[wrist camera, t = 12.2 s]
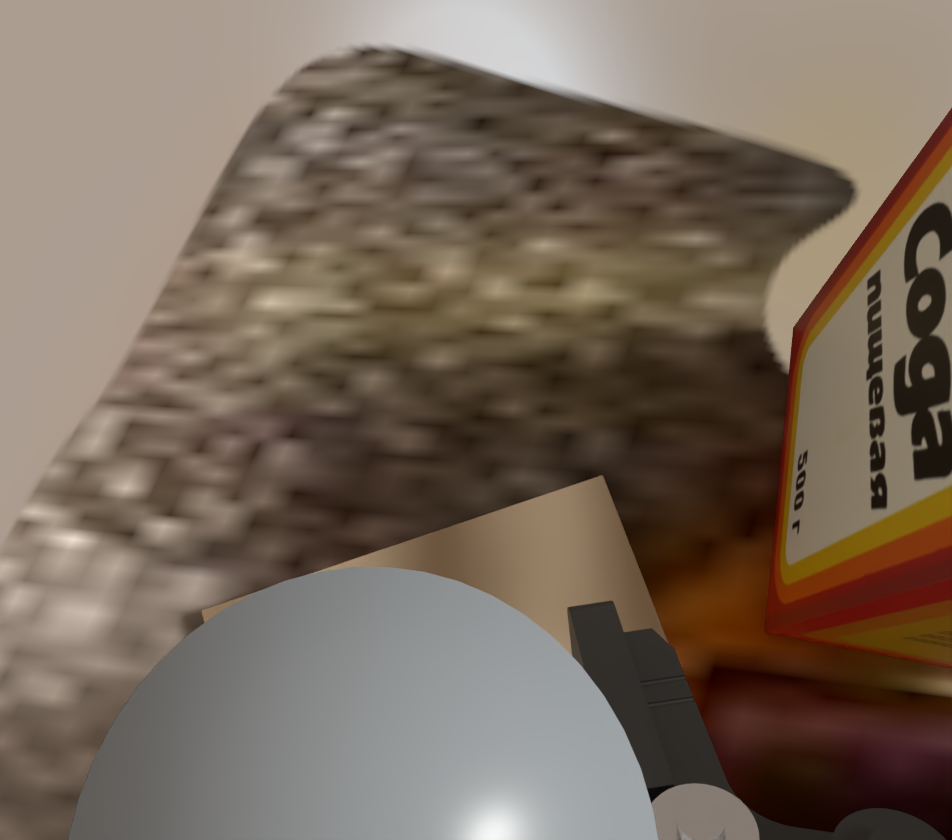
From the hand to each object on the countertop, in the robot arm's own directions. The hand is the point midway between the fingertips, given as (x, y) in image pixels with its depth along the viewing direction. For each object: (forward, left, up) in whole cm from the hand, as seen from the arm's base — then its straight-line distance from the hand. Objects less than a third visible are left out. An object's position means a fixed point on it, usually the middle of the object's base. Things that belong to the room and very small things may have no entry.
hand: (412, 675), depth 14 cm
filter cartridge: (0, +2, -6) cm, 6 cm away
